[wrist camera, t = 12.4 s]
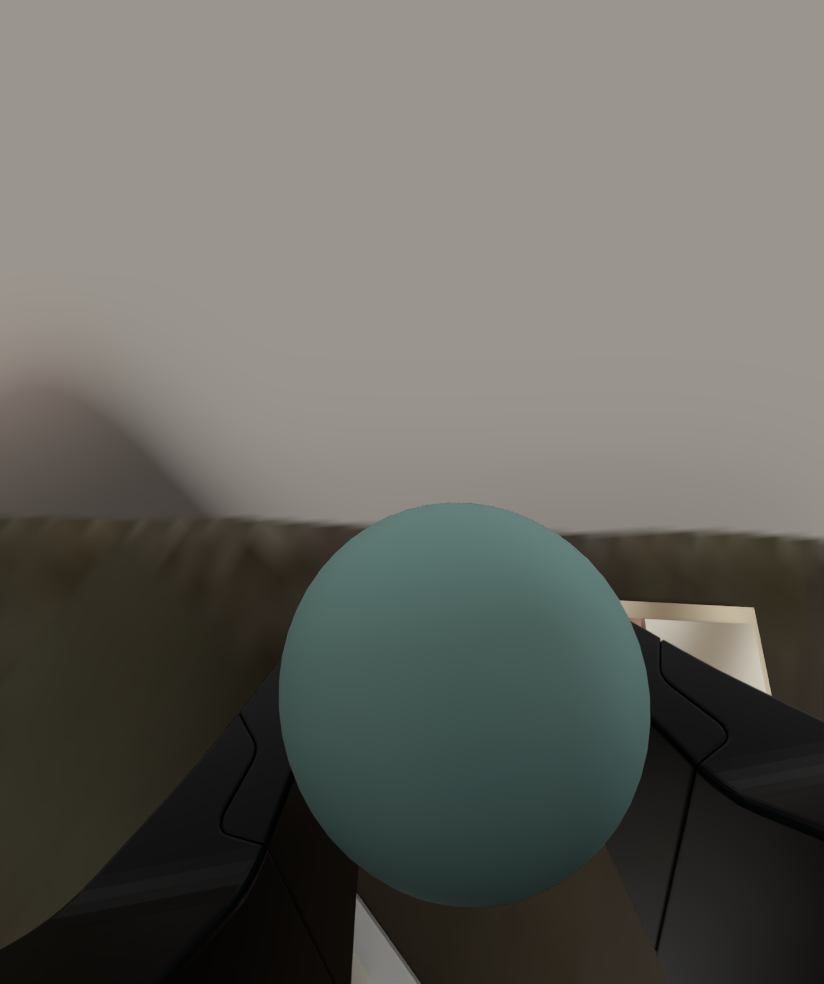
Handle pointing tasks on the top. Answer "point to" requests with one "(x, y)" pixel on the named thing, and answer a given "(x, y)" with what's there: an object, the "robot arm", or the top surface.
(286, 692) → the pawn
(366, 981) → the die
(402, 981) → the mat
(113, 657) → the top surface
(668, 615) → the board
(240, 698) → the top surface
